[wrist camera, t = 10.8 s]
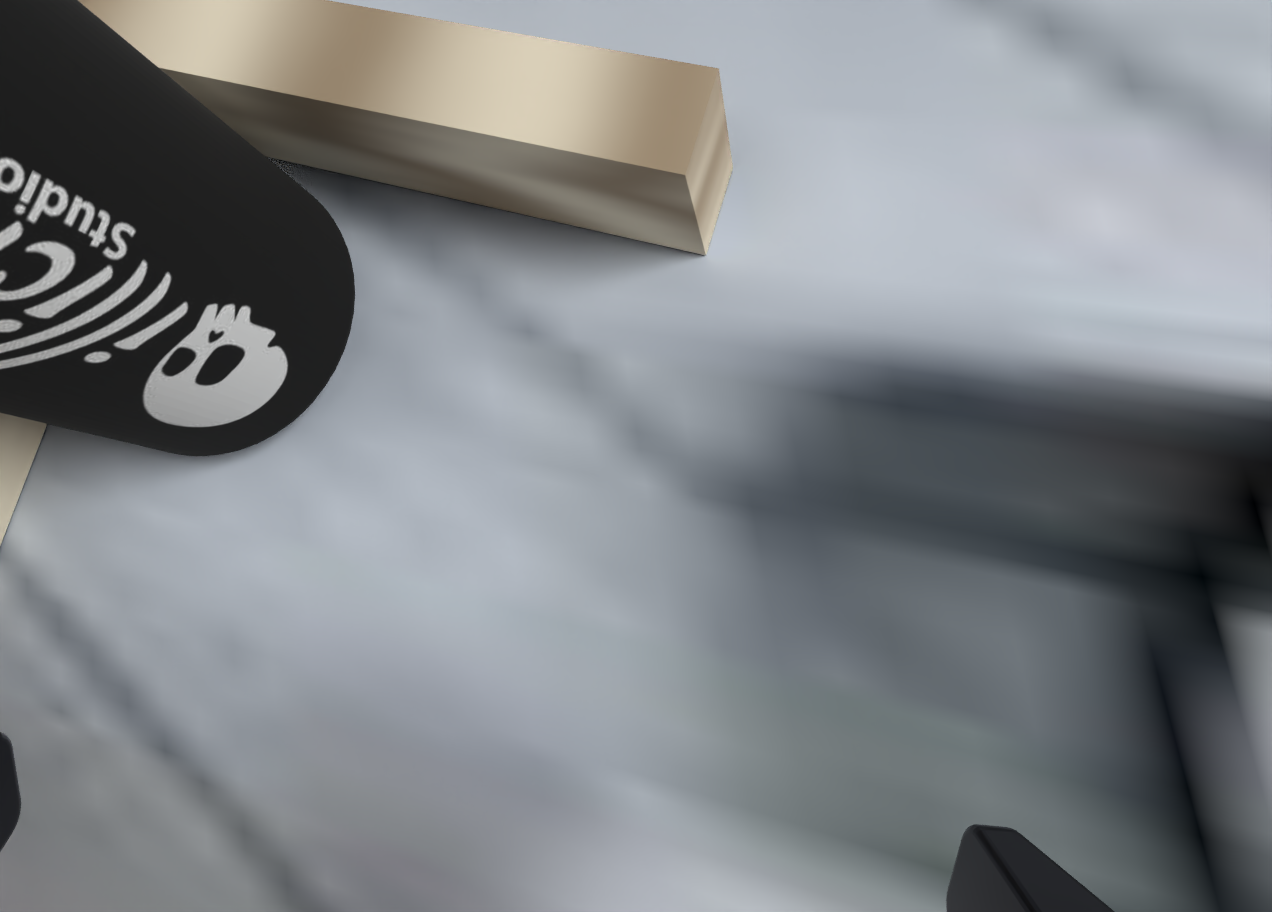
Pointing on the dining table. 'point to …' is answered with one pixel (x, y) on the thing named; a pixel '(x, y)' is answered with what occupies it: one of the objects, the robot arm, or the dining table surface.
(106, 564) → the dining table surface
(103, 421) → the beverage can
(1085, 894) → the robot arm
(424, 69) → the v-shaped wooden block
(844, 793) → the dining table surface
